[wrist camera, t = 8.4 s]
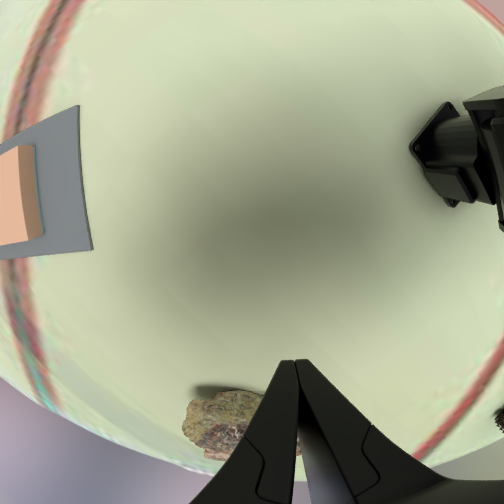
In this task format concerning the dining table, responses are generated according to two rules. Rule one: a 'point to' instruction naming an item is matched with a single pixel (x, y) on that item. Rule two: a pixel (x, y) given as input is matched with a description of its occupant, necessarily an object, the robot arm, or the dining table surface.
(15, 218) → the block
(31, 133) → the mat
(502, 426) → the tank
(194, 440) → the rock
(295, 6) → the dining table surface
